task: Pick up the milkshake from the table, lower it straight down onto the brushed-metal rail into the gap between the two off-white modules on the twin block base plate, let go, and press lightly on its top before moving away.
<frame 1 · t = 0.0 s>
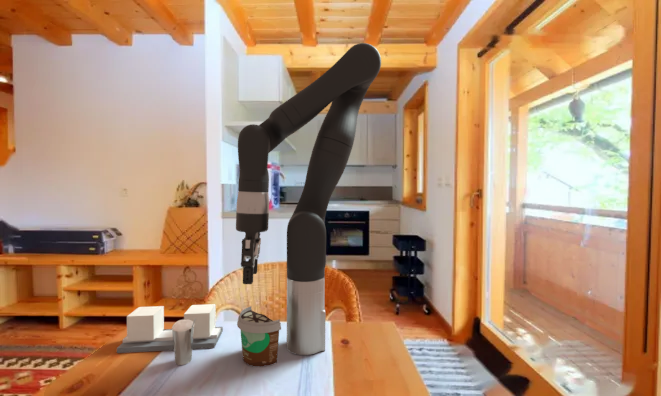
hand: (250, 278, 74), 17 cm above the table, tool pointing down, fingers open, 8 cm apart
twin block base plate: (173, 341, 78), on the table
food container: (253, 361, 70), on the table
milkshake: (185, 362, 69), on the table
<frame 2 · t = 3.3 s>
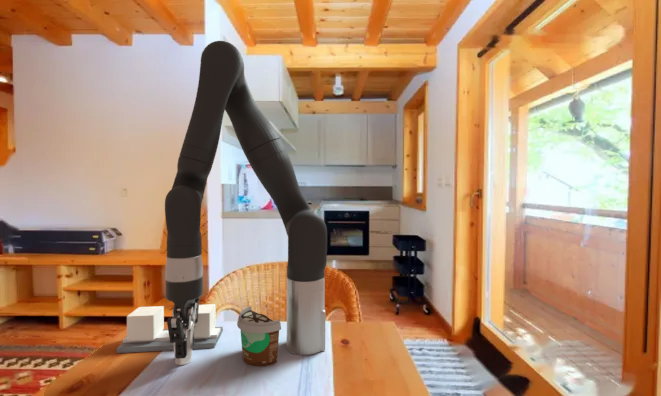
hand: (185, 351, 69), 2 cm above the table, tool pointing down, fingers closed on milkshake, 4 cm apart
milkshake: (185, 362, 69), on the table, touching gripper
everything else where it was.
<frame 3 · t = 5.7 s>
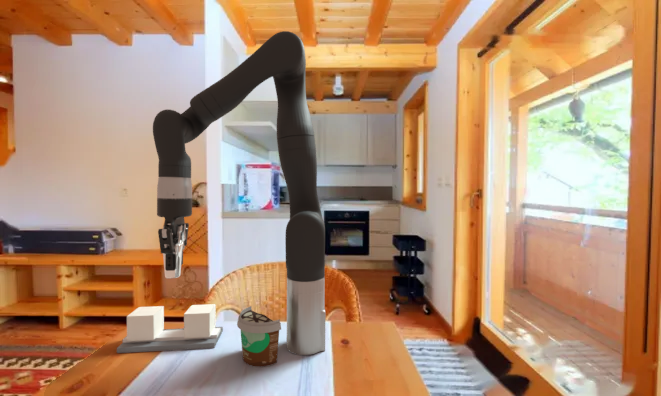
hand: (174, 267, 75), 20 cm above the table, tool pointing down, fingers closed on milkshake, 4 cm apart
milkshake: (174, 277, 75), point 17 cm above the table, touching gripper
everything else where it was.
when the fingers open (6 cm above the table, at t = 8.3 s): milkshake drops 1 cm, resting on twin block base plate.
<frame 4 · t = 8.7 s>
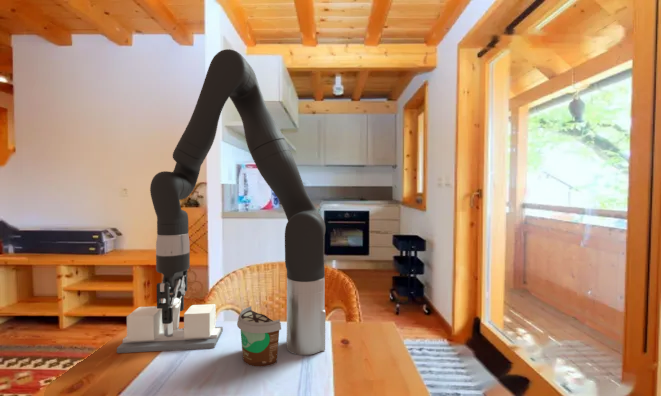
hand: (173, 316, 78), 6 cm above the table, tool pointing down, fingers open, 7 cm apart
milkshake: (172, 335, 78), point 2 cm above the table, touching twin block base plate
everything else where it was.
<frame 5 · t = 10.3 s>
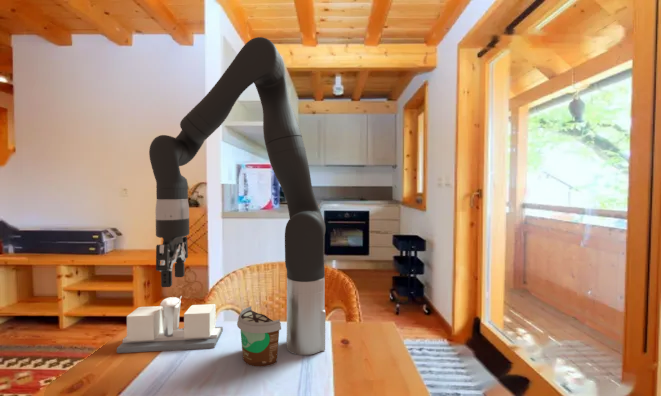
hand: (173, 281, 78), 15 cm above the table, tool pointing down, fingers open, 8 cm apart
nothing on the table moved.
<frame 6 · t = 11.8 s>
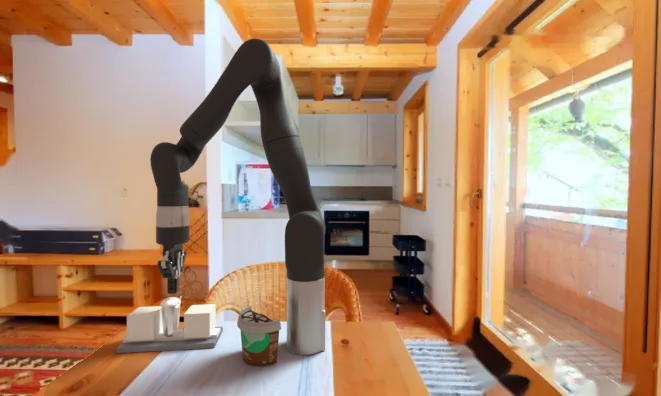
hand: (173, 292, 78), 12 cm above the table, tool pointing down, fingers closed
nothing on the table moved.
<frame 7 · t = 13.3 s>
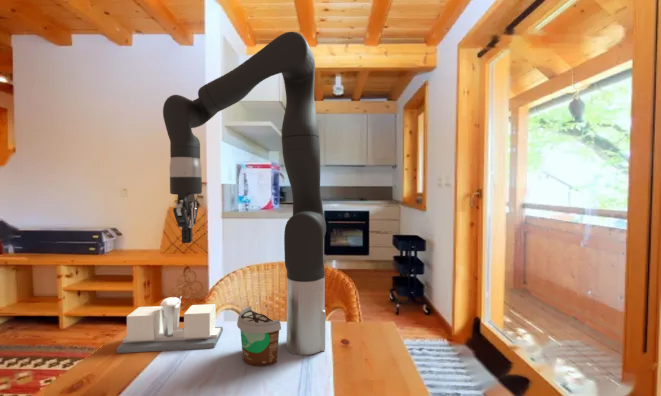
hand: (187, 242, 81), 25 cm above the table, tool pointing down, fingers closed
nothing on the table moved.
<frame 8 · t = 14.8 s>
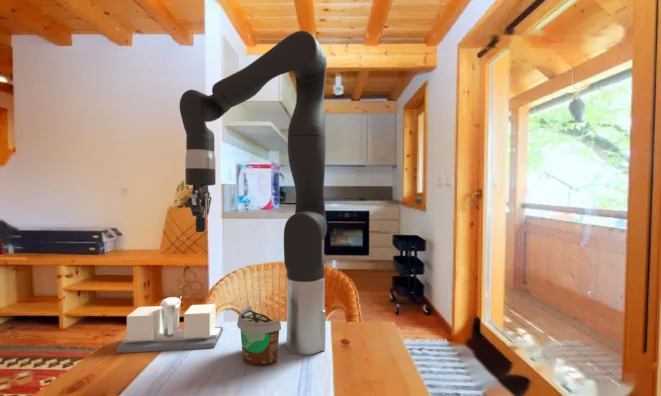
hand: (200, 231, 84), 27 cm above the table, tool pointing down, fingers closed
nothing on the table moved.
at the end: milkshake 0.6 cm off-centre on the twin block base plate, point 1.8 cm above the twin block base plate's base; milkshake tilted 0°; the gripper is holding nothing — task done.
